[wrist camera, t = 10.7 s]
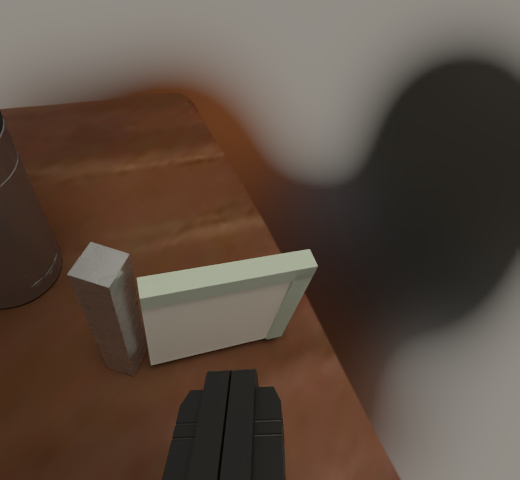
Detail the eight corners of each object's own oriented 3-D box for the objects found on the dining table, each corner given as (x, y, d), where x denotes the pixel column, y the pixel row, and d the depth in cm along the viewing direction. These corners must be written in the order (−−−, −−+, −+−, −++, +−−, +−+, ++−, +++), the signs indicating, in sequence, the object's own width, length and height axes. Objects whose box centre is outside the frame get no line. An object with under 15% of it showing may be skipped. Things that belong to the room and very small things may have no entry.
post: (107, 368, 34) (67, 274, 22) (121, 342, 36) (90, 241, 23) (134, 376, 34) (109, 287, 22) (146, 350, 36) (129, 254, 23)
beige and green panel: (151, 367, 33) (139, 298, 24) (148, 350, 34) (136, 277, 24) (281, 336, 37) (317, 266, 28) (276, 321, 38) (309, 249, 28)
